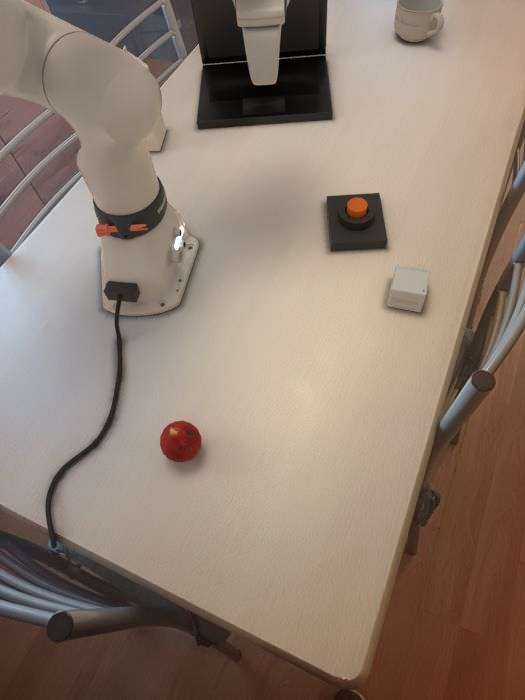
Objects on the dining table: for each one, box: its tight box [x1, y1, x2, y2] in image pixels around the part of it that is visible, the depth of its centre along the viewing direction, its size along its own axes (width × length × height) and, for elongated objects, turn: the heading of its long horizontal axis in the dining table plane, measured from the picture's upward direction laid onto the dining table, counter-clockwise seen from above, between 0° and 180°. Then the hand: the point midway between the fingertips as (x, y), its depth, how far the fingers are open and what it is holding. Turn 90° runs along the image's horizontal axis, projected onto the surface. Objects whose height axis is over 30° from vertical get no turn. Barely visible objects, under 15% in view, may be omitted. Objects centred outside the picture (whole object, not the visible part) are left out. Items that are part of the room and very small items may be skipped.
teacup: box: [393, 0, 445, 43], centre depth 120 cm, size 14×11×8 cm
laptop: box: [196, 54, 333, 130], centre depth 116 cm, size 22×30×2 cm
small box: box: [386, 263, 431, 313], centre depth 83 cm, size 6×6×5 cm
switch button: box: [347, 198, 368, 219], centre depth 90 cm, size 4×4×2 cm
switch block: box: [325, 192, 388, 252], centre depth 92 cm, size 12×10×4 cm
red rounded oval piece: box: [159, 420, 202, 463], centre depth 71 cm, size 6×6×8 cm
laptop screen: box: [190, 0, 329, 66], centre depth 111 cm, size 22×30×1 cm
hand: (267, 79), depth 81 cm, fingers closed
